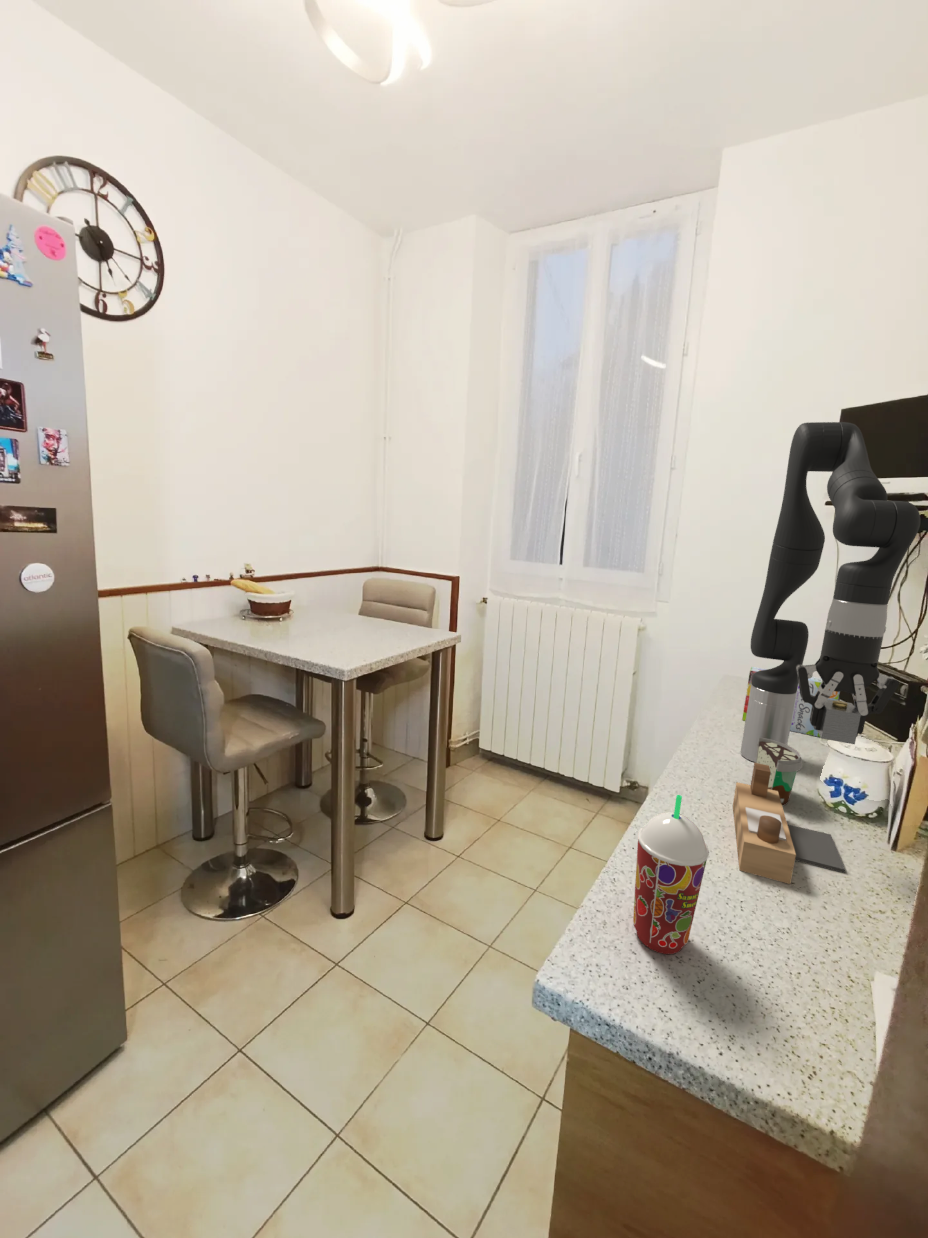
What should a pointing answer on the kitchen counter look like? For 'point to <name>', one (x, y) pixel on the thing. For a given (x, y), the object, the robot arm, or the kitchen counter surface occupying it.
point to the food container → (779, 765)
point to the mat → (815, 848)
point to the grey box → (839, 721)
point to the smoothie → (668, 880)
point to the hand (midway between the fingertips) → (834, 731)
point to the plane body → (762, 829)
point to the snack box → (795, 705)
